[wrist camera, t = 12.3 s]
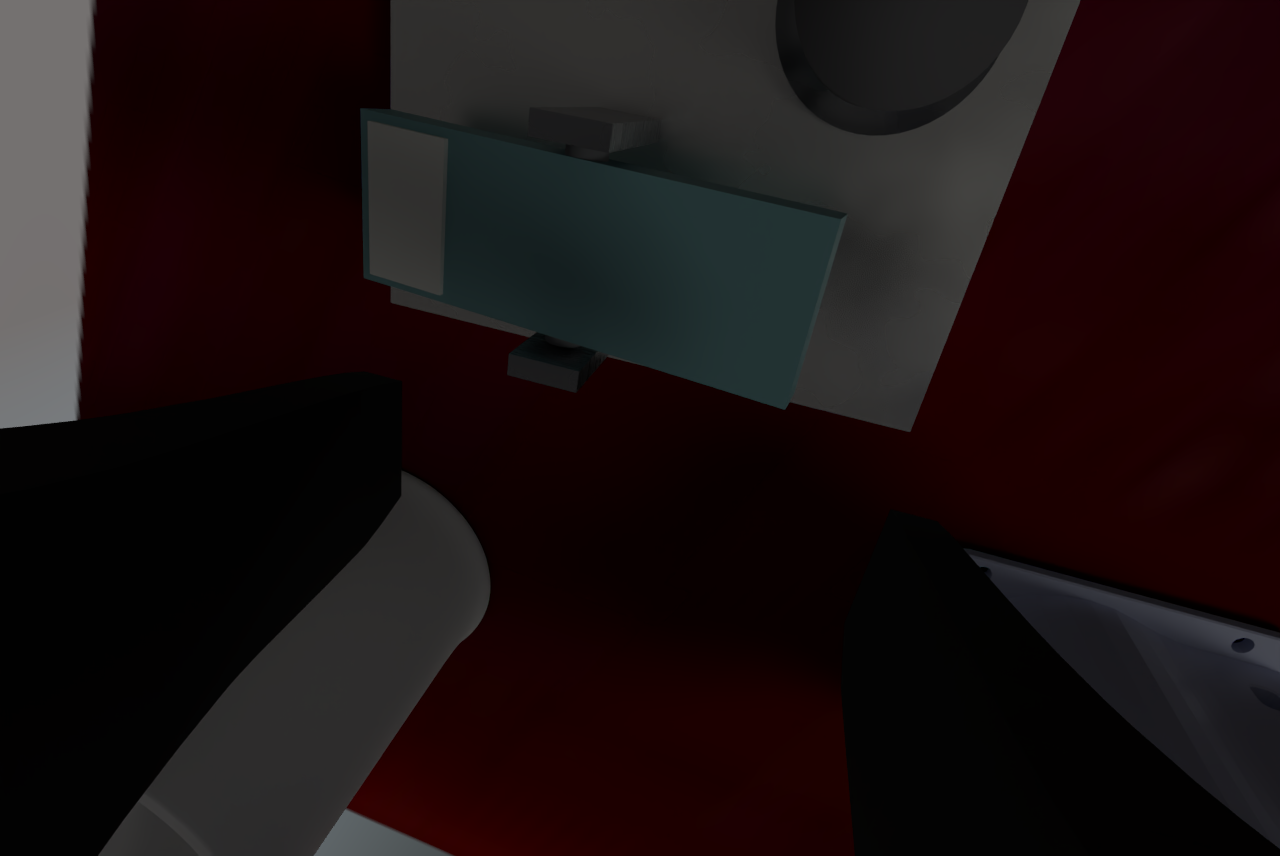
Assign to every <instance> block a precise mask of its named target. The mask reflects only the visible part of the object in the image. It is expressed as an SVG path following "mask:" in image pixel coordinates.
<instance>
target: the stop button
mask: <svg viewBox="0 0 1280 856" xmlns="http://www.w3.org/2000/svg"><path fill="white" fill-rule="evenodd" d="M1027 4H1028V0H794V6H795V20H796V26H797V31H798V36H799V39H800V42H801V45H802V48H803V51H804V54H805V57H806V59H807V61H808V63H809V66H810V68H811V69H812V71H813V72H814V74H815V75H816V77H817V78H818V79H819V81H820V82H821V83H822V84H823V85H824V86H825V87H826V88H827V89H828V90H829V91H830V92H832V93H833V94H834V95H835V96H837V97H839V98H840V99H842V100H843V101H845V102H848V103H850V104H852V105H855V106H858V107H862V108H866V109H872V110H883V111H899V110H908V109H914V108H919V107H923V106H926V105H929V104H933V103H935V102H937V101H940V100H942V99H944V98H947V97H948V96H950V95H952V94H954V93H955V92H957V91H959V90H961V89H962V88H963V87H965V86H966V85H967V84H969V83H970V82H972V81H973V80H974V79H976V78H977V77H978V76H979V75H980V74H981V73H982V72H983V71H984V70H985V69H986V68H988V67H989V65H990V64H991V63H992V62H993V61H994V60H995V59H996V57H997V56H998V55H999V54H1000V53H1001V51H1002V50H1003V49H1004V47H1005V46H1006V44H1007V43H1008V41H1009V40H1010V39H1011V37H1012V35H1013V33H1014V32H1015V30H1016V28H1017V26H1018V24H1019V23H1020V20H1021V18H1022V16H1023V13H1024V11H1025V9H1026V6H1027Z"/></svg>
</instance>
